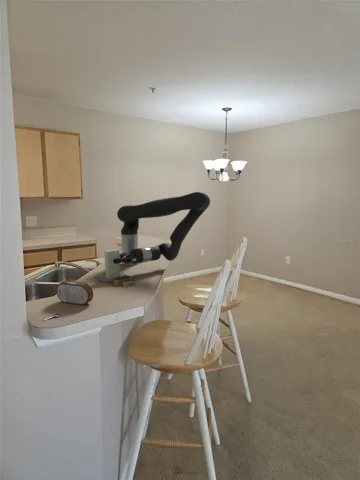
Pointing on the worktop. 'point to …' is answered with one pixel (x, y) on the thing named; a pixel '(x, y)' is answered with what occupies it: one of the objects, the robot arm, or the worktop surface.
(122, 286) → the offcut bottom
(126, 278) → the rack
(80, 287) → the tin
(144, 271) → the worktop surface
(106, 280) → the mat
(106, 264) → the sage green upright pillar
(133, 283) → the offcut top
